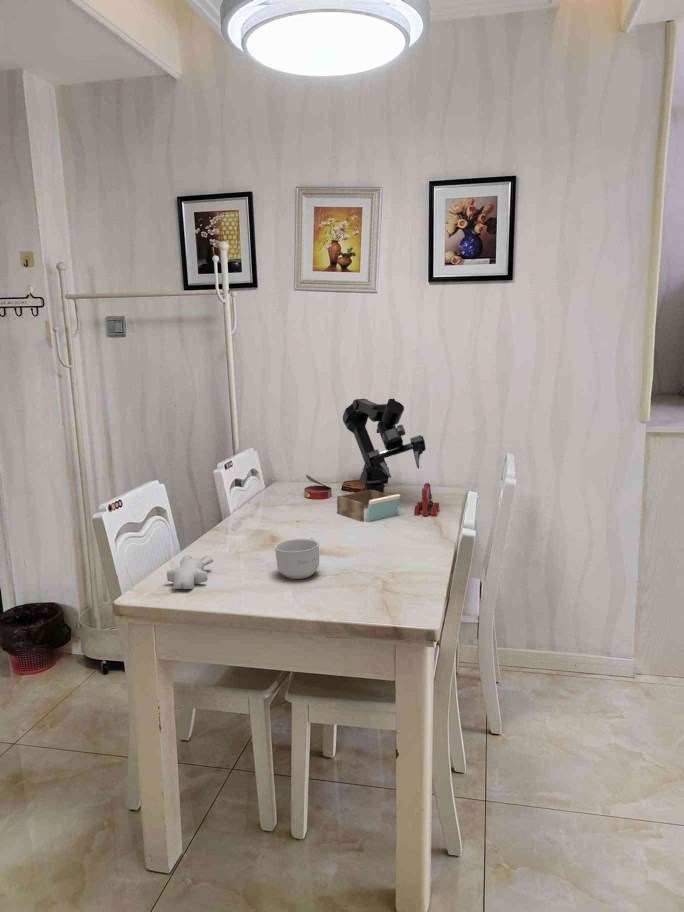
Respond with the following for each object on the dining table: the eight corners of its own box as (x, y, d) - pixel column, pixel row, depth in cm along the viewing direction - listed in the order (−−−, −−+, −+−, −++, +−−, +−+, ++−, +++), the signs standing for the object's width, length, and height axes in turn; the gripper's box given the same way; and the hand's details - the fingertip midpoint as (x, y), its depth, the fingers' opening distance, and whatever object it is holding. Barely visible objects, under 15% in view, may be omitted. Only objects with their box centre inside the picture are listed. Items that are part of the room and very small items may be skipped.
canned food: (307, 506, 249) (307, 480, 252) (334, 504, 247) (333, 478, 250) (300, 499, 238) (299, 472, 241) (328, 497, 236) (327, 469, 239)
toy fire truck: (440, 512, 223) (440, 481, 221) (435, 522, 211) (435, 489, 209) (419, 510, 225) (419, 480, 223) (413, 520, 213) (413, 488, 211)
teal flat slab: (365, 520, 208) (369, 500, 205) (394, 513, 215) (398, 494, 212) (367, 521, 207) (371, 501, 204) (396, 515, 214) (400, 495, 212)
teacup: (302, 586, 159) (302, 553, 158) (266, 577, 165) (265, 546, 163) (334, 568, 171) (334, 537, 169) (299, 561, 176) (299, 531, 175)
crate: (337, 517, 217) (337, 496, 215) (371, 510, 225) (371, 489, 224) (361, 525, 207) (361, 503, 206) (396, 517, 216) (396, 496, 215)
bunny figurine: (160, 576, 155) (179, 548, 169) (162, 596, 157) (180, 566, 171) (201, 576, 155) (216, 548, 169) (202, 596, 156) (217, 567, 170)
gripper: (358, 429, 214) (372, 468, 205) (414, 410, 214) (430, 448, 205) (363, 449, 223) (377, 487, 214) (417, 431, 223) (433, 468, 214)
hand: (404, 472), depth 211 cm, fingers open, 9 cm apart
